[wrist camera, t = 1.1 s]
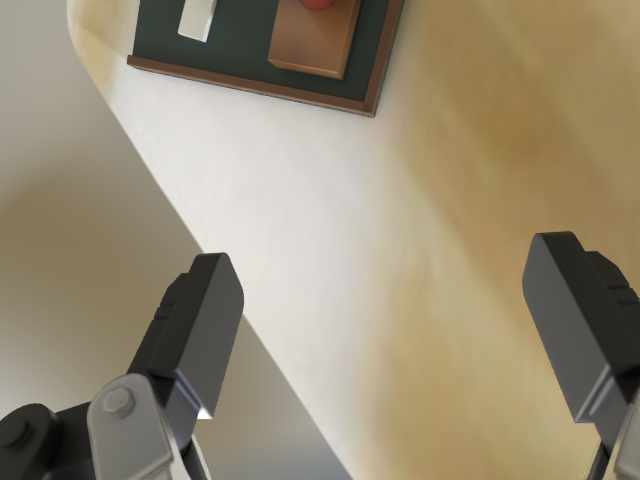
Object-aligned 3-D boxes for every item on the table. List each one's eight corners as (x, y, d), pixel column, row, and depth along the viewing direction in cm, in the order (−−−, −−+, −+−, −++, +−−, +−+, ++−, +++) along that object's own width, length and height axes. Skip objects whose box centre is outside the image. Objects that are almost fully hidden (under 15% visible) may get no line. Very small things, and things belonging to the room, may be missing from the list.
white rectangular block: (193, -16, 32) (190, -19, 32) (219, -9, 32) (216, -12, 31) (181, 35, 33) (177, 32, 32) (206, 42, 32) (202, 40, 32)
